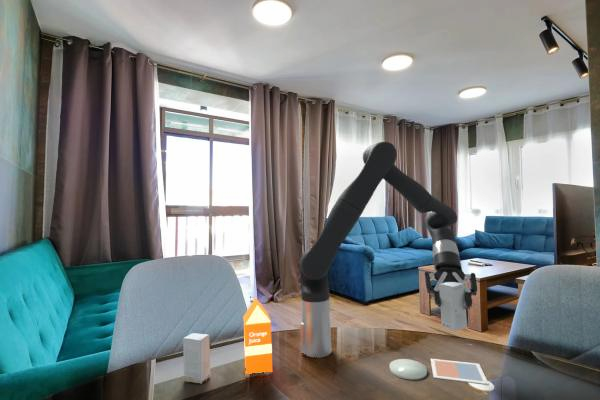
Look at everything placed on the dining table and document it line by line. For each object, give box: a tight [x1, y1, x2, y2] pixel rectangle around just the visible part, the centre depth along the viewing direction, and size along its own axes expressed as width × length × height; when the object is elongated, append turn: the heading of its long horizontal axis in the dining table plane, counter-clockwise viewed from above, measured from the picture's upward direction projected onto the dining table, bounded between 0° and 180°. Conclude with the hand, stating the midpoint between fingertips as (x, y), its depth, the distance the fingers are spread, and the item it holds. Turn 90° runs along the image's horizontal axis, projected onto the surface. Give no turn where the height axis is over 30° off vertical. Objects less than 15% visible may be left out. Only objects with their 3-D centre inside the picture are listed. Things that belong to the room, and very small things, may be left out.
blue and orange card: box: [430, 358, 489, 386], centre depth 86 cm, size 13×11×1 cm
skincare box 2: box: [439, 282, 468, 332], centre depth 87 cm, size 6×4×12 cm
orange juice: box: [243, 296, 273, 375], centre depth 92 cm, size 8×9×20 cm
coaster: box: [389, 358, 428, 381], centre depth 88 cm, size 10×10×1 cm
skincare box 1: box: [182, 332, 211, 381], centre depth 87 cm, size 6×4×12 cm
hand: (453, 306), depth 86 cm, fingers closed on skincare box 2, 6 cm apart
